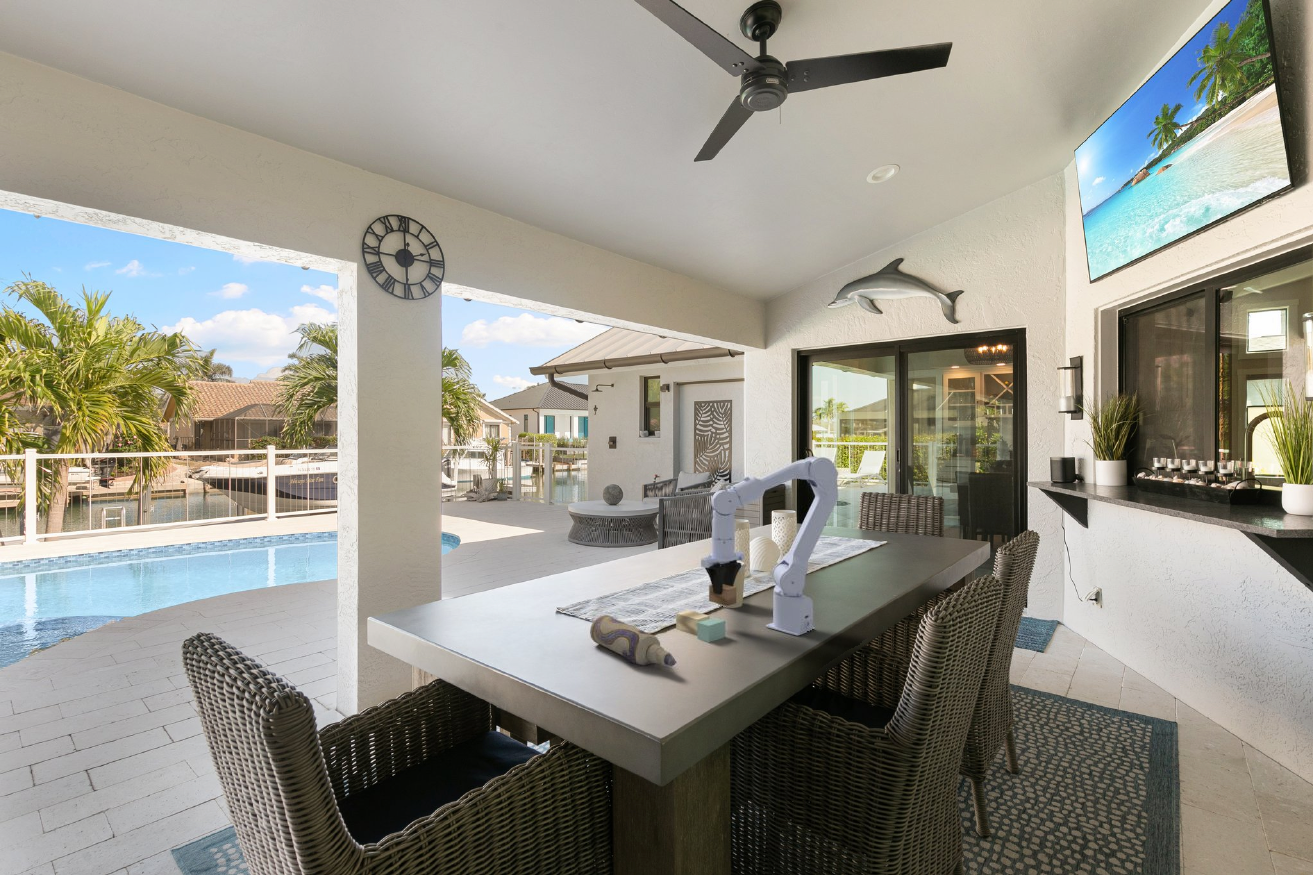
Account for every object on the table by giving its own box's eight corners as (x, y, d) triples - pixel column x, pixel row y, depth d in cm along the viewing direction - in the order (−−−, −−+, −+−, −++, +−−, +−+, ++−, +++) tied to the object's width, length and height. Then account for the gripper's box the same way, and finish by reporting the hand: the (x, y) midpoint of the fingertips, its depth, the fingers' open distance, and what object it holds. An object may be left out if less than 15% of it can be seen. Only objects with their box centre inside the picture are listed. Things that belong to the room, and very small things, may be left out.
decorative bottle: (587, 646, 136) (587, 617, 136) (614, 640, 141) (615, 611, 141) (657, 683, 116) (658, 648, 116) (687, 674, 121) (687, 641, 121)
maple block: (709, 632, 147) (709, 615, 147) (697, 636, 144) (697, 619, 144) (688, 625, 152) (688, 610, 152) (676, 629, 149) (676, 613, 149)
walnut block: (736, 603, 149) (736, 587, 149) (727, 605, 147) (727, 589, 147) (717, 598, 154) (718, 582, 154) (708, 600, 151) (709, 585, 151)
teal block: (714, 633, 146) (714, 617, 146) (725, 637, 143) (725, 620, 143) (697, 639, 142) (697, 622, 142) (708, 642, 139) (708, 625, 139)
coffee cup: (706, 601, 174) (706, 560, 174) (733, 598, 178) (734, 558, 178) (723, 610, 166) (723, 567, 166) (751, 606, 170) (751, 564, 170)
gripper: (729, 533, 158) (728, 584, 158) (692, 539, 148) (691, 594, 148) (750, 536, 153) (750, 589, 153) (713, 542, 143) (713, 599, 143)
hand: (722, 592), depth 150 cm, fingers closed on walnut block, 3 cm apart
